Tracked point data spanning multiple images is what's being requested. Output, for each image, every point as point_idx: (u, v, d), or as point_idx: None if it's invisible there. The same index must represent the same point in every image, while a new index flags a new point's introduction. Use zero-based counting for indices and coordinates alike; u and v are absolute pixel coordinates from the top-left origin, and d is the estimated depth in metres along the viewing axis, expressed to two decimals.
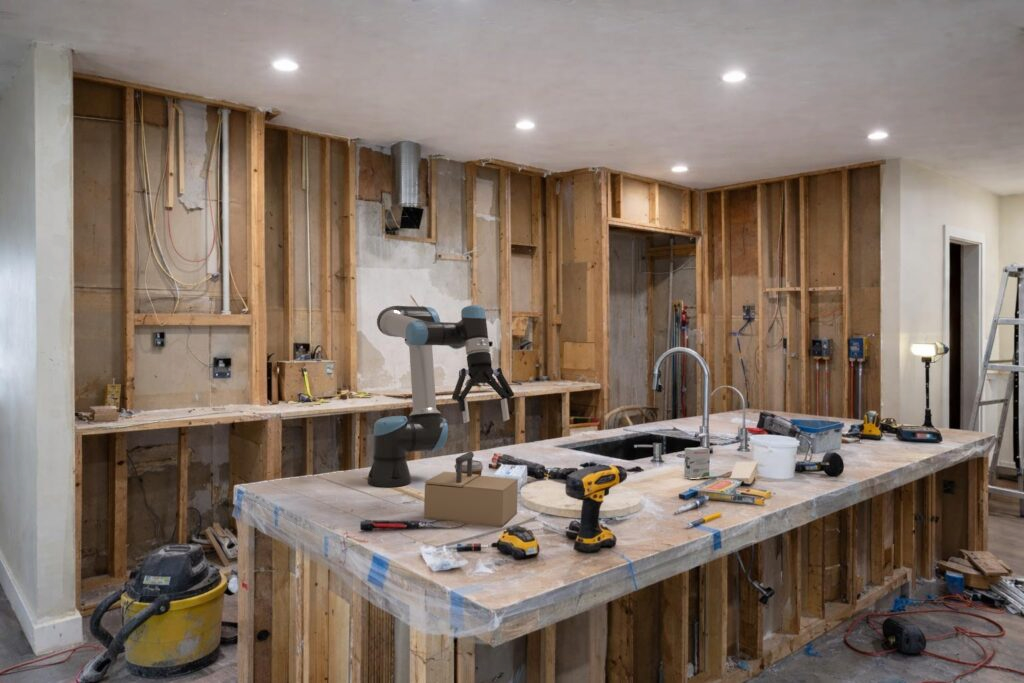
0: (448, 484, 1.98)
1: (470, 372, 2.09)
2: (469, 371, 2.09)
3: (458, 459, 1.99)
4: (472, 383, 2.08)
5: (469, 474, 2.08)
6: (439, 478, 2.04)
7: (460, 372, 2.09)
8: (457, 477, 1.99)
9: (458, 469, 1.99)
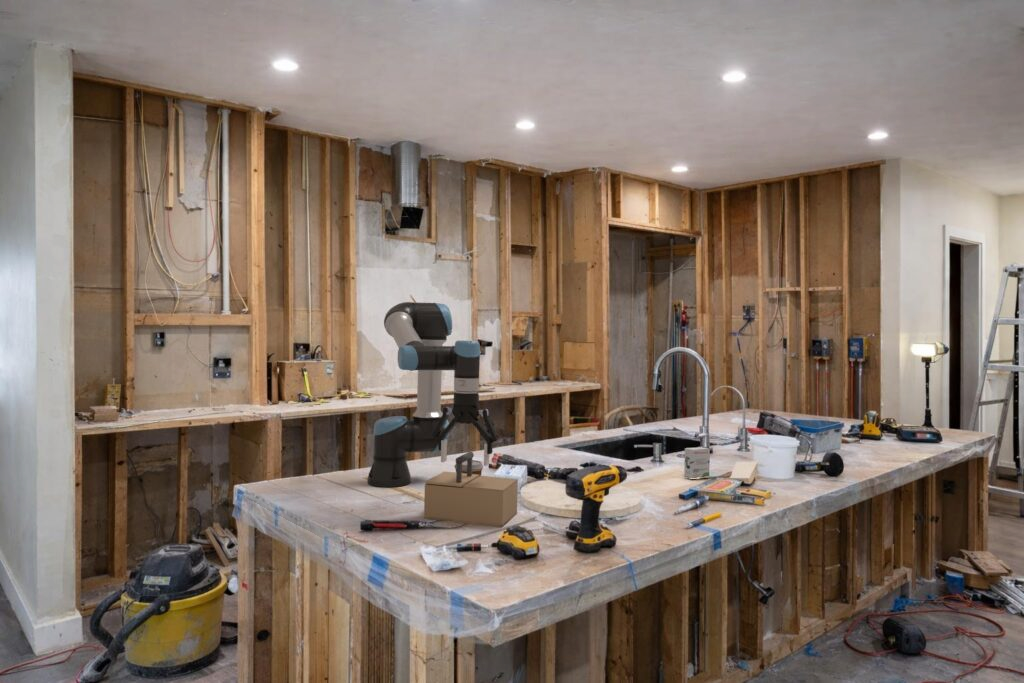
0: (448, 484, 1.98)
1: (452, 412, 2.04)
2: (452, 410, 2.04)
3: (458, 459, 1.99)
4: (452, 424, 2.04)
5: (469, 474, 2.08)
6: (439, 478, 2.04)
7: None
8: (457, 477, 1.99)
9: (458, 469, 1.99)
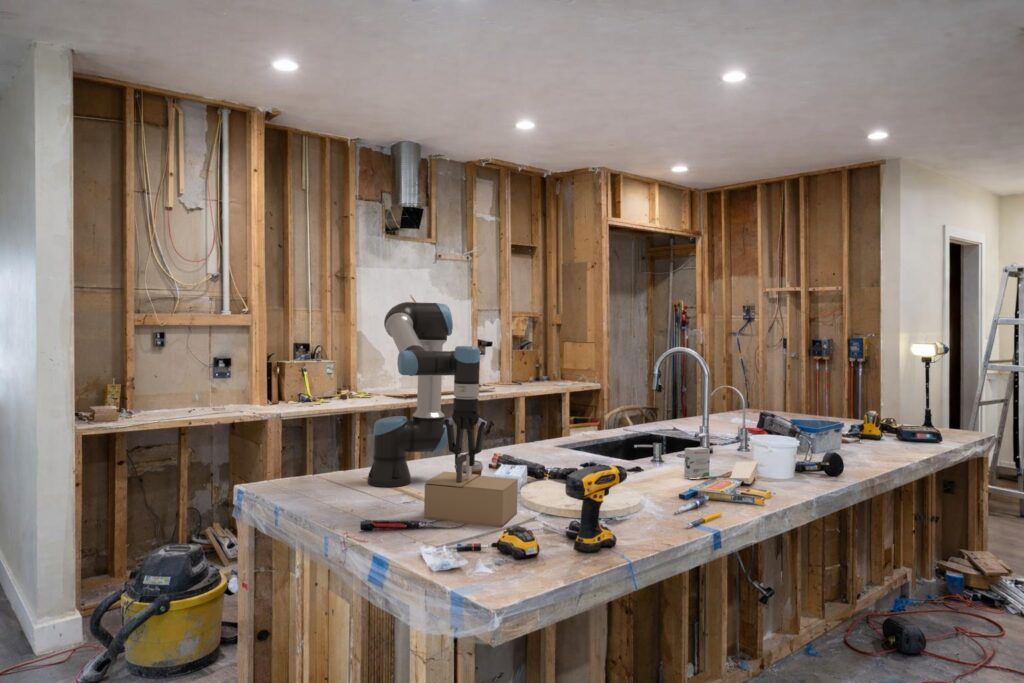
0: (448, 484, 1.98)
1: (453, 419, 2.04)
2: (452, 418, 2.04)
3: (458, 459, 1.99)
4: (458, 433, 2.03)
5: None
6: (439, 478, 2.04)
7: None
8: (457, 477, 1.99)
9: (458, 469, 1.99)
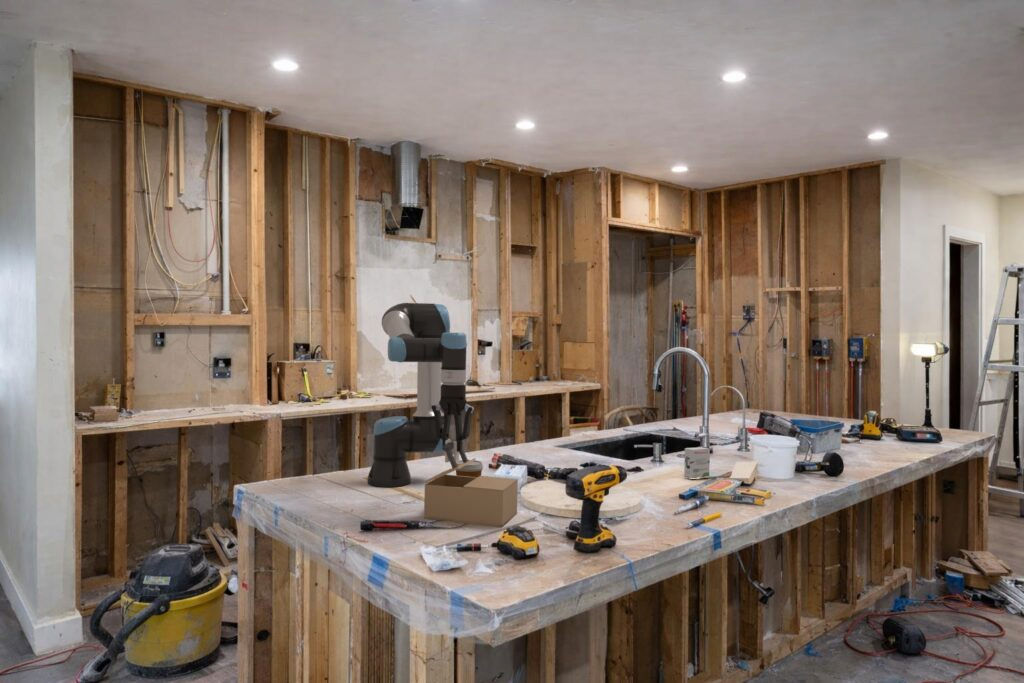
0: (445, 473, 1.98)
1: (440, 405, 2.05)
2: (439, 404, 2.06)
3: (445, 446, 2.00)
4: (446, 419, 2.04)
5: (465, 460, 2.08)
6: None
7: None
8: (451, 463, 2.00)
9: (449, 455, 2.00)
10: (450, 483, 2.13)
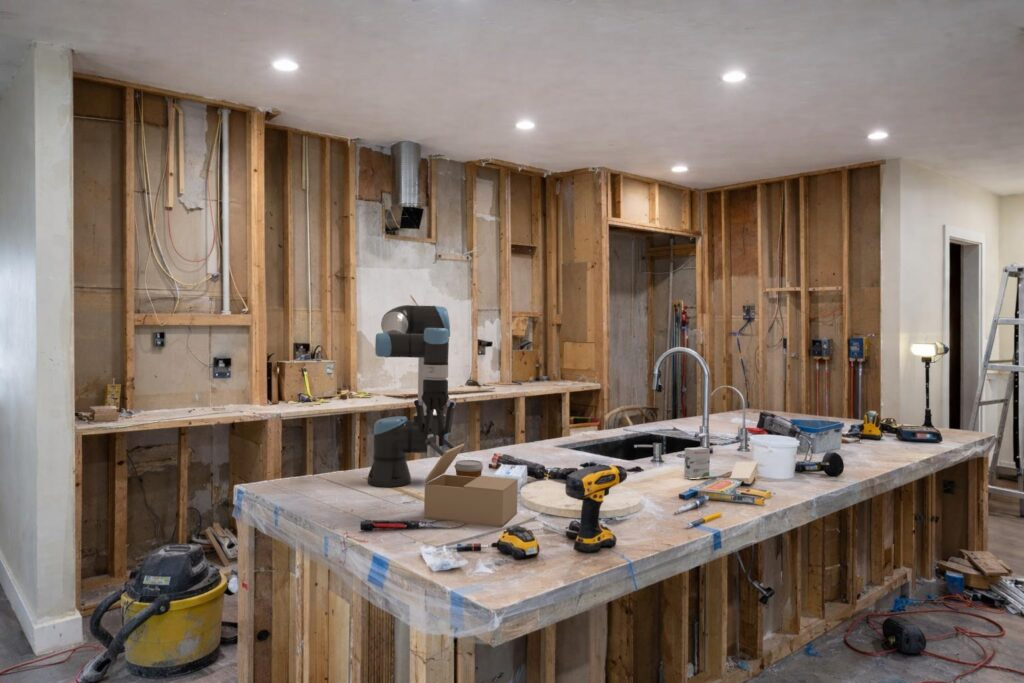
0: (437, 463, 1.99)
1: (423, 400, 2.07)
2: (422, 399, 2.07)
3: (427, 441, 2.02)
4: (428, 413, 2.06)
5: None
6: None
7: None
8: (440, 453, 2.01)
9: (434, 447, 2.01)
10: (450, 483, 2.13)
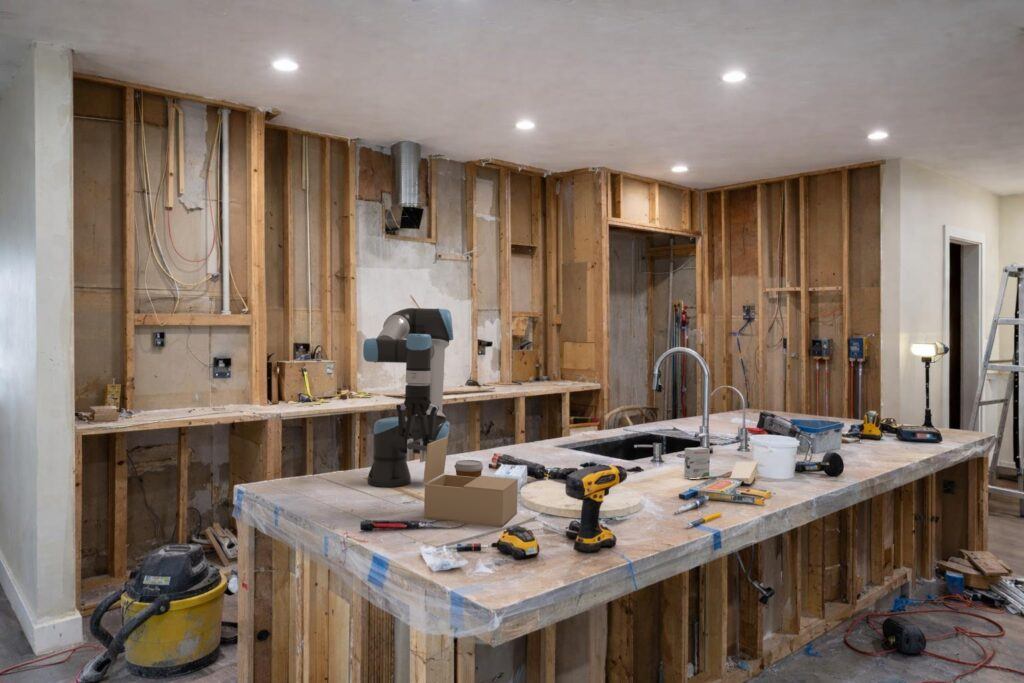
0: (426, 458, 2.00)
1: (405, 405, 2.09)
2: (404, 404, 2.09)
3: (409, 445, 2.04)
4: (409, 419, 2.08)
5: None
6: None
7: None
8: (425, 449, 2.02)
9: (417, 447, 2.03)
10: (450, 483, 2.13)
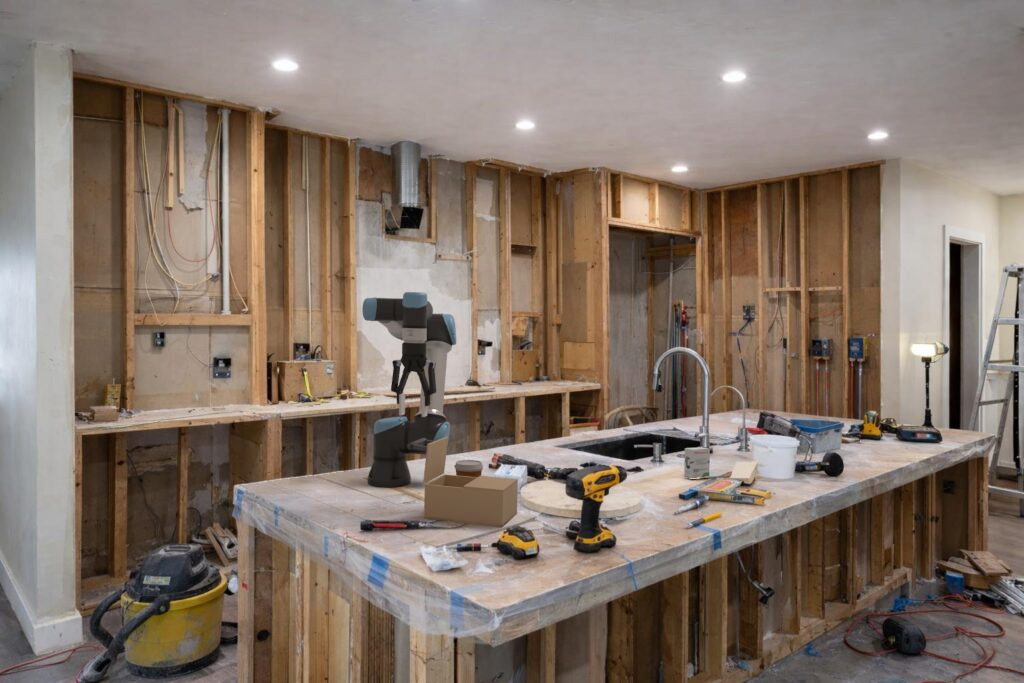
0: (426, 458, 2.00)
1: (401, 362, 2.12)
2: (400, 361, 2.12)
3: (409, 445, 2.04)
4: (404, 375, 2.12)
5: None
6: None
7: None
8: (425, 449, 2.02)
9: (417, 447, 2.03)
10: (450, 483, 2.13)
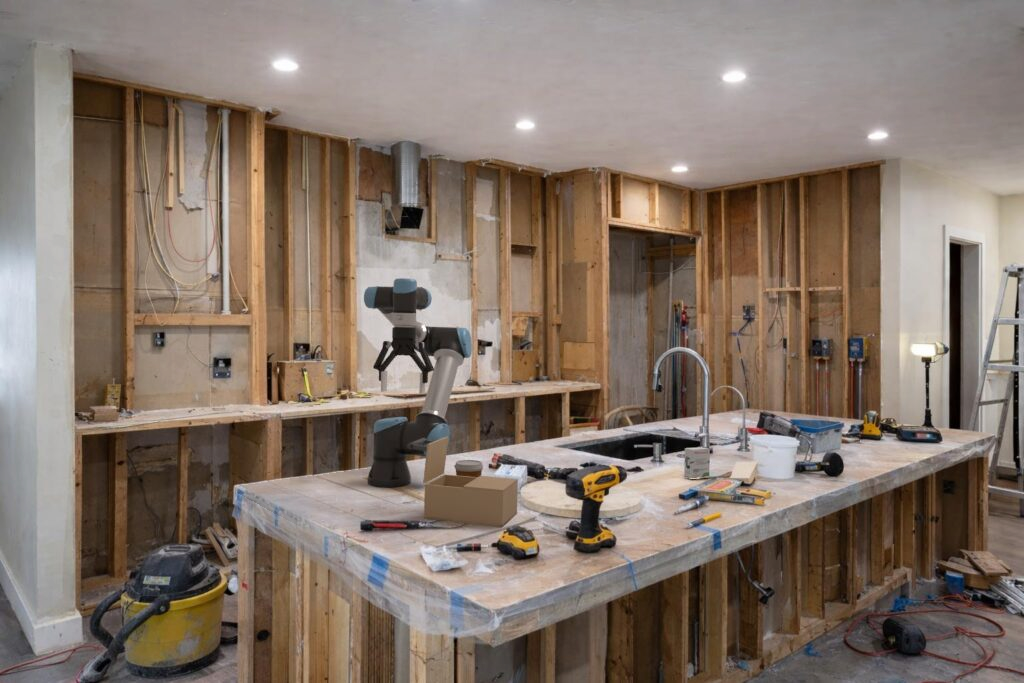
0: (426, 458, 2.00)
1: (391, 345, 2.21)
2: (391, 344, 2.21)
3: (409, 445, 2.04)
4: (390, 356, 2.20)
5: None
6: None
7: None
8: (425, 449, 2.02)
9: (417, 447, 2.03)
10: (450, 483, 2.13)
